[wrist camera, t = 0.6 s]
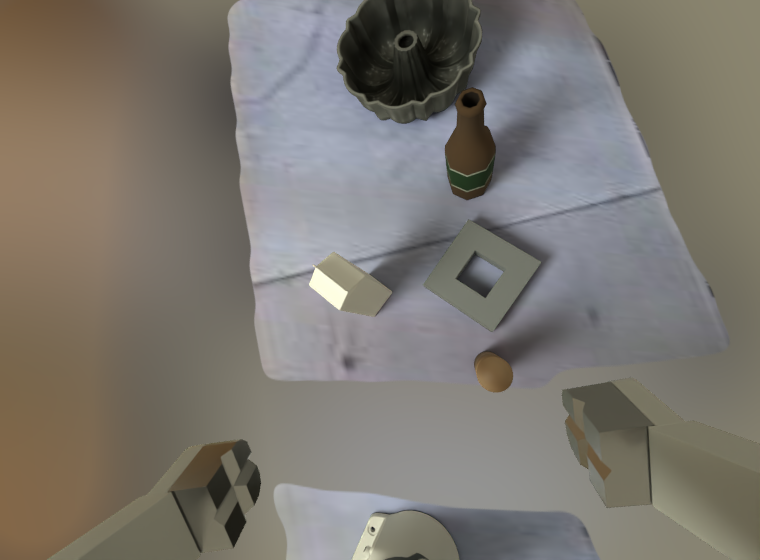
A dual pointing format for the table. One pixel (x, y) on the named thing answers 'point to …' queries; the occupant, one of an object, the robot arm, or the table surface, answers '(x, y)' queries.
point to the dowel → (493, 372)
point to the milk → (348, 286)
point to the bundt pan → (409, 55)
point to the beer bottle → (470, 147)
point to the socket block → (496, 253)
